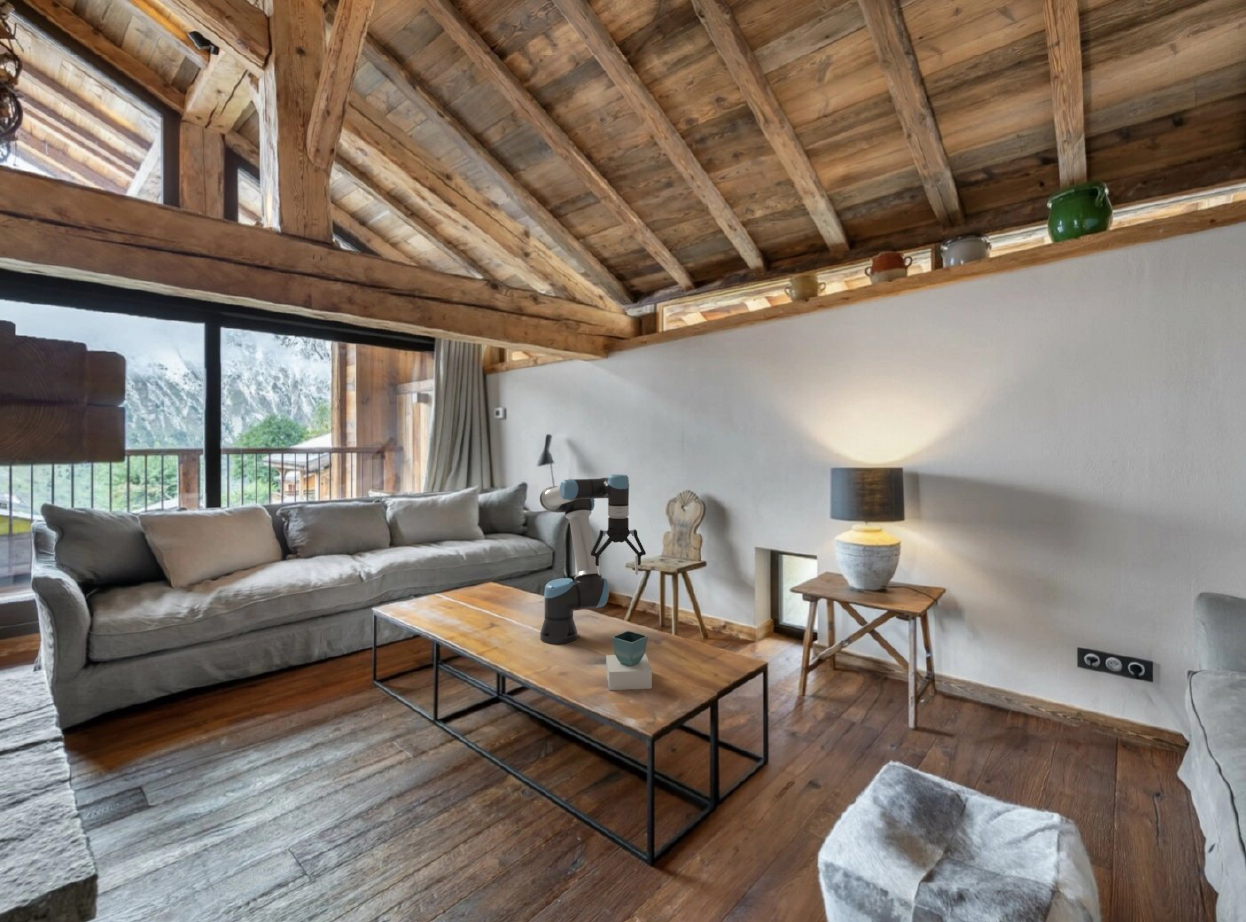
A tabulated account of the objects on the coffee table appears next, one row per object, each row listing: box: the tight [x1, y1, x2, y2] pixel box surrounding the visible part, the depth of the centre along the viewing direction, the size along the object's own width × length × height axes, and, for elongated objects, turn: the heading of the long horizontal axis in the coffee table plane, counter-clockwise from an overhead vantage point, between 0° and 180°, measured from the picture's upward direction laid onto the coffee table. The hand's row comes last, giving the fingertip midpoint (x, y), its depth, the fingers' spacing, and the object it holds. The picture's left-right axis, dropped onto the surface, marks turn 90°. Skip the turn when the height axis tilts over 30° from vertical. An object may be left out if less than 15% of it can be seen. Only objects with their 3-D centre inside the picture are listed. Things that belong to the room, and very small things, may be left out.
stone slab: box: [605, 653, 653, 691], centre depth 188 cm, size 14×14×6 cm
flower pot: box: [612, 630, 648, 666], centre depth 187 cm, size 9×9×9 cm
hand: (618, 574), depth 204 cm, fingers open, 13 cm apart
